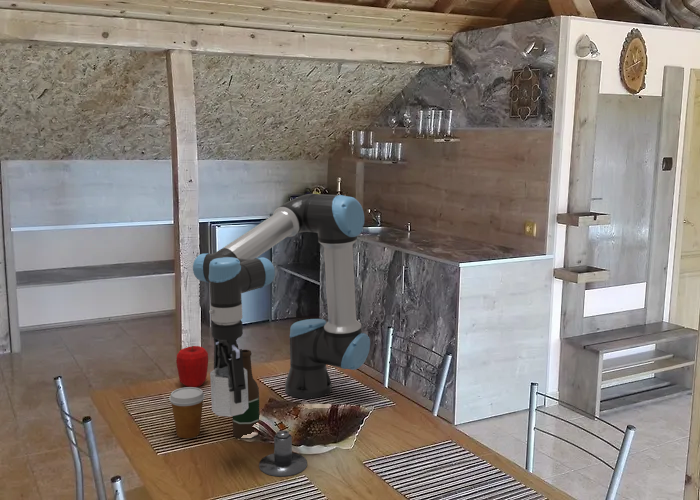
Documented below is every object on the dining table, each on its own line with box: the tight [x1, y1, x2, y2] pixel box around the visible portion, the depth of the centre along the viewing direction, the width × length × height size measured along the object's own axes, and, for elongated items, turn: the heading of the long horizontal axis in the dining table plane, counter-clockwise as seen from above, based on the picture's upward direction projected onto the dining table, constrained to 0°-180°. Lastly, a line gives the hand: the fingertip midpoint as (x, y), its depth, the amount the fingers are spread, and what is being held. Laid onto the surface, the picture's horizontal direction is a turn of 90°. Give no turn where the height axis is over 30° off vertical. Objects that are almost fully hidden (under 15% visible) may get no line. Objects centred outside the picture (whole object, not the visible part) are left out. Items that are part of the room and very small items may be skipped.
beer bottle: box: [231, 349, 261, 440], centre depth 194 cm, size 8×8×24 cm
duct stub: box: [258, 430, 308, 478], centre depth 177 cm, size 12×12×9 cm
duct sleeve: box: [209, 366, 249, 418], centre depth 176 cm, size 8×8×10 cm
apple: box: [175, 345, 209, 388], centre depth 232 cm, size 11×10×14 cm
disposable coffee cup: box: [168, 386, 206, 439], centre depth 195 cm, size 10×10×12 cm
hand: (230, 407), depth 177 cm, fingers closed on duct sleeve, 8 cm apart
